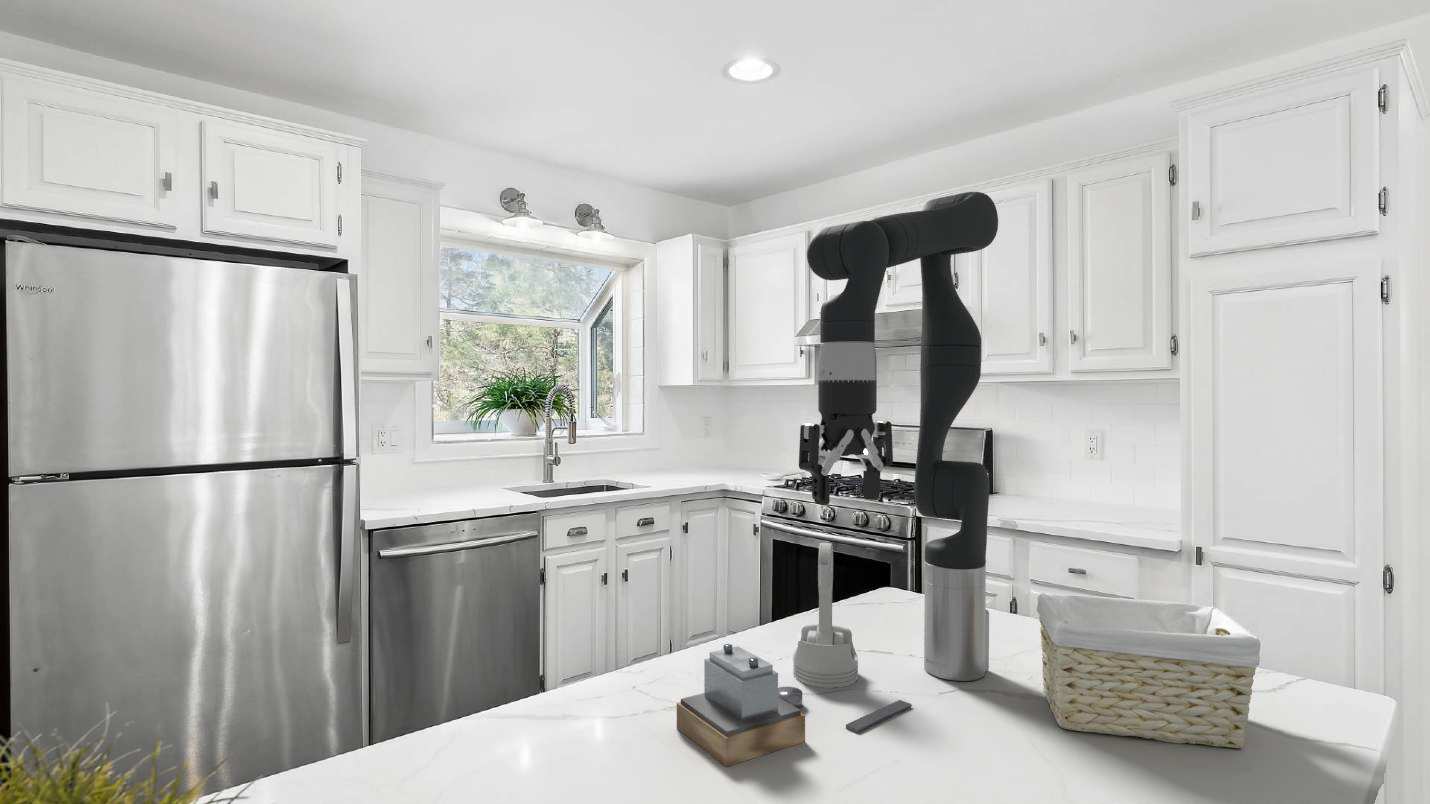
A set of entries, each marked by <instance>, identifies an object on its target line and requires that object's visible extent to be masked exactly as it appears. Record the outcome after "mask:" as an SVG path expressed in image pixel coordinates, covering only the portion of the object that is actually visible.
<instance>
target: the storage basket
mask: <svg viewBox="0 0 1430 804" xmlns="http://www.w3.org/2000/svg"><path fill="white" fill-rule="evenodd" d="M1036 611H1037V613H1038V619H1039V623H1040V629H1039V631H1040V634H1041V635H1040V638H1041V639H1040V640H1041V641H1040V642H1041V643H1040V644H1041V651H1042V652H1041V656H1042V657H1041V660H1042V679H1043V680H1042V685H1043V687H1042V690H1043V693H1044V695H1045V698H1046V700H1047V703H1048V705H1049V706H1050V710H1051V712H1052V714H1053V716H1054V718H1055V720H1056V722H1057V725H1059V727H1060V728H1063V729H1064V730H1070V731H1076V732H1084V733H1097V734H1107V735H1115V736H1119V737H1129V736H1131V737H1139V738H1140V737H1141V738H1143V739H1147V740H1149V739H1153V740H1156V741H1159V742H1160V741H1161V742H1166V743H1172V744H1173V743H1174V744H1186V743H1187V744H1193V745H1195V744H1200V745H1206V746H1207V745H1208V746H1211V747H1225V748H1226V747H1227V748H1233V749H1243V747H1244V746H1245V740H1246V739H1245V737H1246V728H1247V725H1248V722H1247V721H1248V719H1249V713H1250V705H1249V704H1250V703H1251V700H1252V698H1251V697H1252V696H1251V695H1252V693H1253V690H1252V687H1253V684H1254V679H1253V678H1254V676H1255V675H1256V670H1257V668H1258V667H1259V665H1260V662H1261V661H1260V658H1261V657H1260V651H1261V641H1260V639H1259V637H1257V636H1255V635H1254V634H1253V633H1252V632H1251V631H1249V630H1248V629H1247V628H1246V627H1244V626H1243V625H1242V624H1241V623H1239V622H1238V621H1236V620H1235V619H1234V618H1232V617H1231V616H1230V615H1228V614H1227V613H1225V612H1224V611H1222V610H1221V609H1219V608H1217V607H1216V606H1204V605H1198V604H1191V603H1185V602H1176V601H1175V602H1174V601H1161V600H1150V599H1149V600H1148V599H1134V598H1121V597H1120V598H1119V597H1107V596H1094V595H1085V594H1065V593H1064V594H1060V593H1058V594H1057V593H1050V594H1046V593H1045V592H1043V593H1040V594H1039V595H1038V596H1037V607H1036Z"/></svg>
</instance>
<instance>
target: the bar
mask: <svg viewBox="0 0 1430 804" xmlns="http://www.w3.org/2000/svg"><path fill="white" fill-rule="evenodd" d="M912 705H913V704H912V703H910V702H907V701H905V700H904V701H903V700H901V699H898V700H896V701H894V702H891V703H890V704H888V705H886V706H883V707H881V708H879V709H877V710H874V711H872V712H870V713H868V714H866V715H864V716H862V717H859V718H857V719H855V720H852V721H851V722H848V723H846V724H845V729H846V730H848V731H850V732H853V733H855V734H860V733H863V732H866V730H868V729H871V728H873V727H875V726H877V725H879V724H881V723H883V722H885V721H887V720H889V718H890V719H891V718H894V717H896V716H897V715H900V714H902V713H904V712H906V711H908V710H911V709H912V708H911V707H913V706H912ZM905 710H906V711H905ZM895 715H896V716H895ZM893 716H894V717H893ZM870 727H871V728H870Z"/></svg>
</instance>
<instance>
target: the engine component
mask: <svg viewBox="0 0 1430 804" xmlns="http://www.w3.org/2000/svg"><path fill="white" fill-rule="evenodd" d="M833 546H834V545H833V543H831V542H820V543H819V547H818V558H817V559H818V560H817V561H818V562H817V563H818V565H817V569H818V570H817V582H818V584H817V586H818V587H817V588H818V624H810V625H809V624H808V625H804V626H803V627H802V628H801V636H800V640H799V641H798V643H797V647H796V649H795V650H794V651H793V653H792V654H793V655H792V665H793V666H792V667H793V668H792V670H793V671H792V675H794V676H793V678H794V679H795V678H796V679H795V680H796V681H798V680H799V681H801V682H802V684H804V683H805V684H804V685H807V684H808V685H807V686H810V687H815V686H817V687H816V688H822V687H826V688H825V689H834V688H833V687H838V688H843V687H842V686H844V687H848V686H851V685H853V684H854V683H856V682H857V681H858V679H859V666H858V665H859V657H858V654H857V652H856V649H855V646H854V642H853V639H852V638H853V633H852V631H851V629H850V628H848V627H844V626H840V625H837V624H836V625H834V624H833V583H834V582H833V581H834V548H833ZM856 680H857V681H856ZM799 681H798V682H799ZM855 681H856V682H855ZM801 682H800V683H801ZM852 683H853V684H852ZM850 684H851V685H850ZM828 687H830V688H828Z"/></svg>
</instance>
